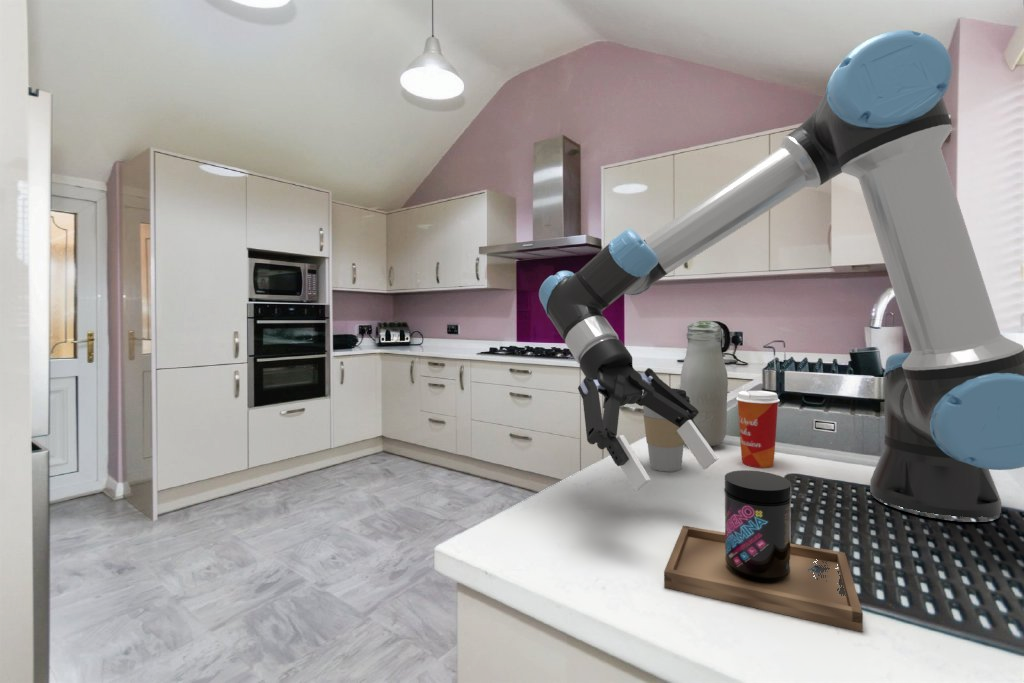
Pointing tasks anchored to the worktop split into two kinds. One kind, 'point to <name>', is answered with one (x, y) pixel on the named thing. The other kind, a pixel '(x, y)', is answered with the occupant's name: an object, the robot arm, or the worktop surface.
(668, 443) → the coffee cup
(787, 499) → the supplement container
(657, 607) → the worktop surface
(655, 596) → the worktop surface
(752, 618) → the worktop surface
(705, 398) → the glass bottle
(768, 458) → the paper cup
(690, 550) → the tray
